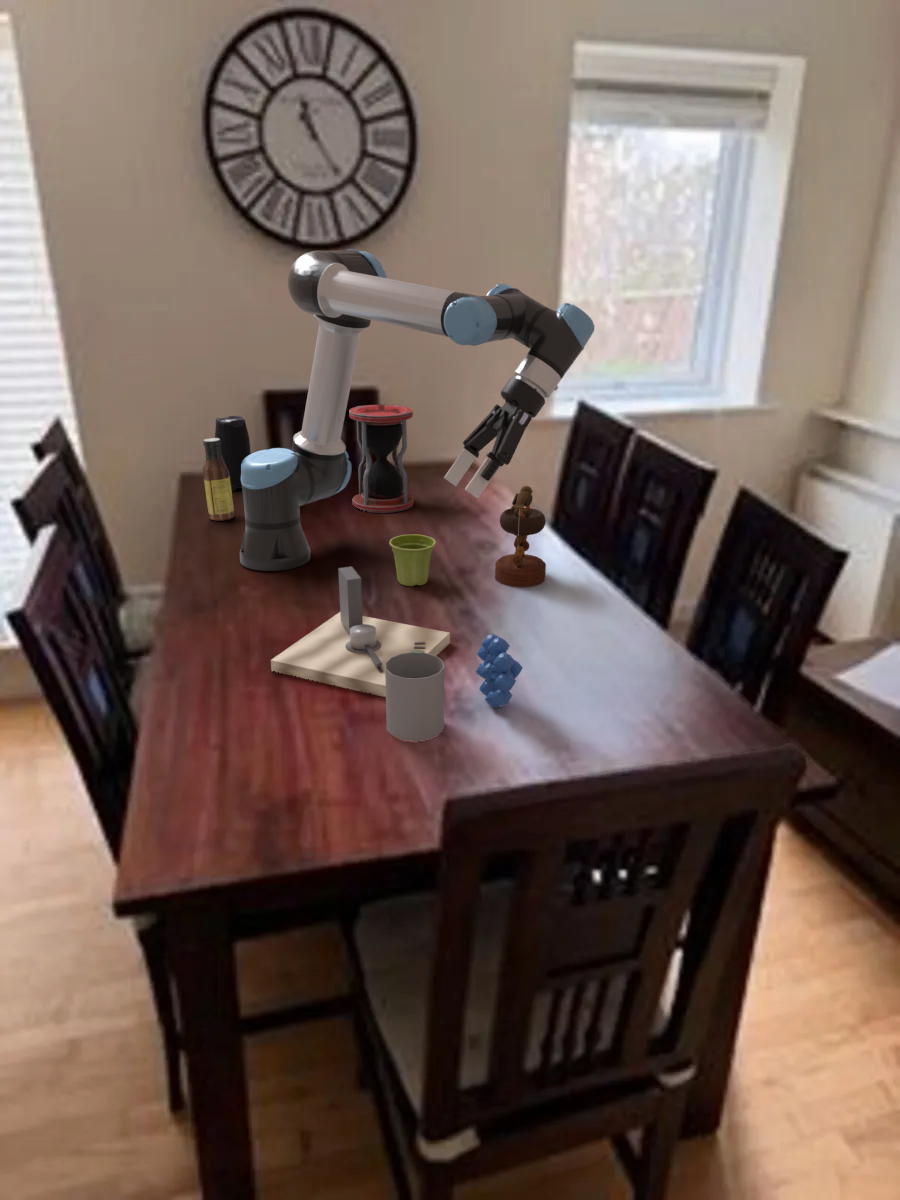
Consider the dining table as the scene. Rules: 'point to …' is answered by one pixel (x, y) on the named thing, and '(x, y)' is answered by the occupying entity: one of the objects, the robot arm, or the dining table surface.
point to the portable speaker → (233, 446)
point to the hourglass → (382, 458)
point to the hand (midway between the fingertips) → (459, 487)
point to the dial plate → (355, 653)
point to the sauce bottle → (217, 482)
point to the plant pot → (412, 558)
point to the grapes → (497, 671)
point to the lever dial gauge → (355, 613)
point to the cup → (414, 696)
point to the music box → (521, 543)
